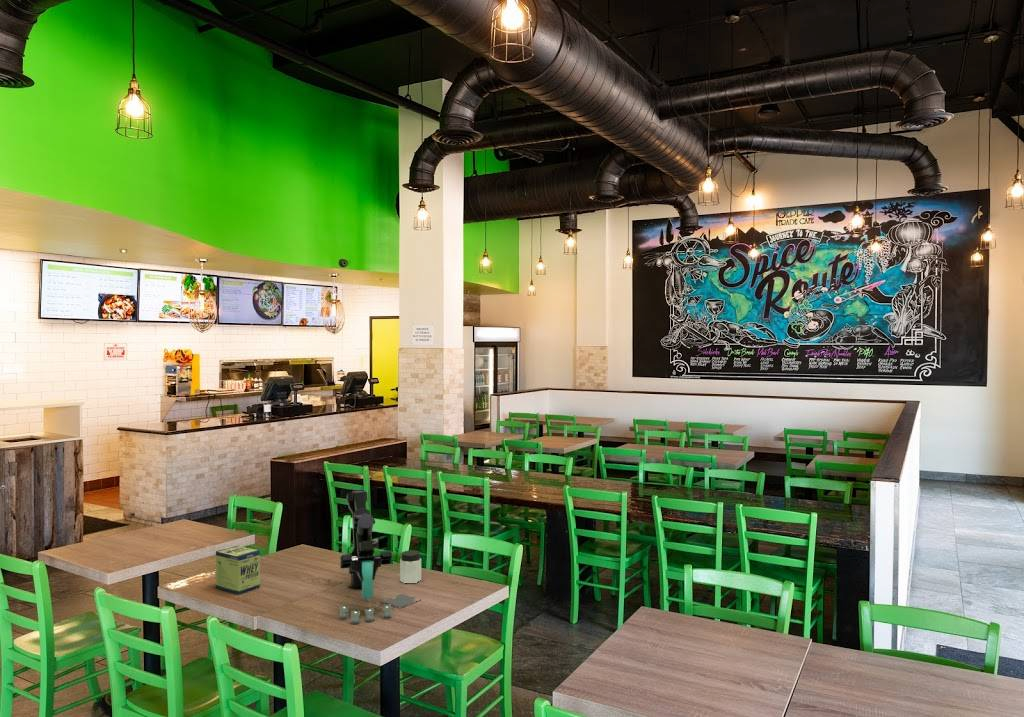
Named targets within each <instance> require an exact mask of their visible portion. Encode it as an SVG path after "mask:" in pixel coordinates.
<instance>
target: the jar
mask: <svg viewBox="0 0 1024 717" xmlns="http://www.w3.org/2000/svg"><path fill="white" fill-rule="evenodd" d="M420 580H421V581H422V558H421V552H420V551H419V550H414V549H411V550H404V551H402V552H401V553H400V559H399V582H400V581H401V583H402V582H403V584H405V583H416V584H417V582H418V581H419V582H421V581H420ZM419 582H418V583H419Z"/></svg>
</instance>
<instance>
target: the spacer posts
mask: <svg viewBox="0 0 1024 717" xmlns="http://www.w3.org/2000/svg"><path fill="white" fill-rule="evenodd" d="M349 609H350V608H349V605H346V604H345V605H340V606H339V619H340V620H348V619H349V618H350V624H352V625H358V623H359V624H361V610H360V609H353V610H351V611H350V610H349ZM381 610H382V612H381V614H382V616H381V617H382V618H383V617H384V618H383V619H385V618H387V619H389V618H388V617H391V618H392V606H391V605H389V604H384V605H382V609H381ZM349 611H350V613H349ZM349 616H350V617H349ZM347 618H348V619H347ZM373 620H374V621H375V608H374V607H367V608H365V609H364V622H365V623H371V621H372V622H374V621H373Z"/></svg>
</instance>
